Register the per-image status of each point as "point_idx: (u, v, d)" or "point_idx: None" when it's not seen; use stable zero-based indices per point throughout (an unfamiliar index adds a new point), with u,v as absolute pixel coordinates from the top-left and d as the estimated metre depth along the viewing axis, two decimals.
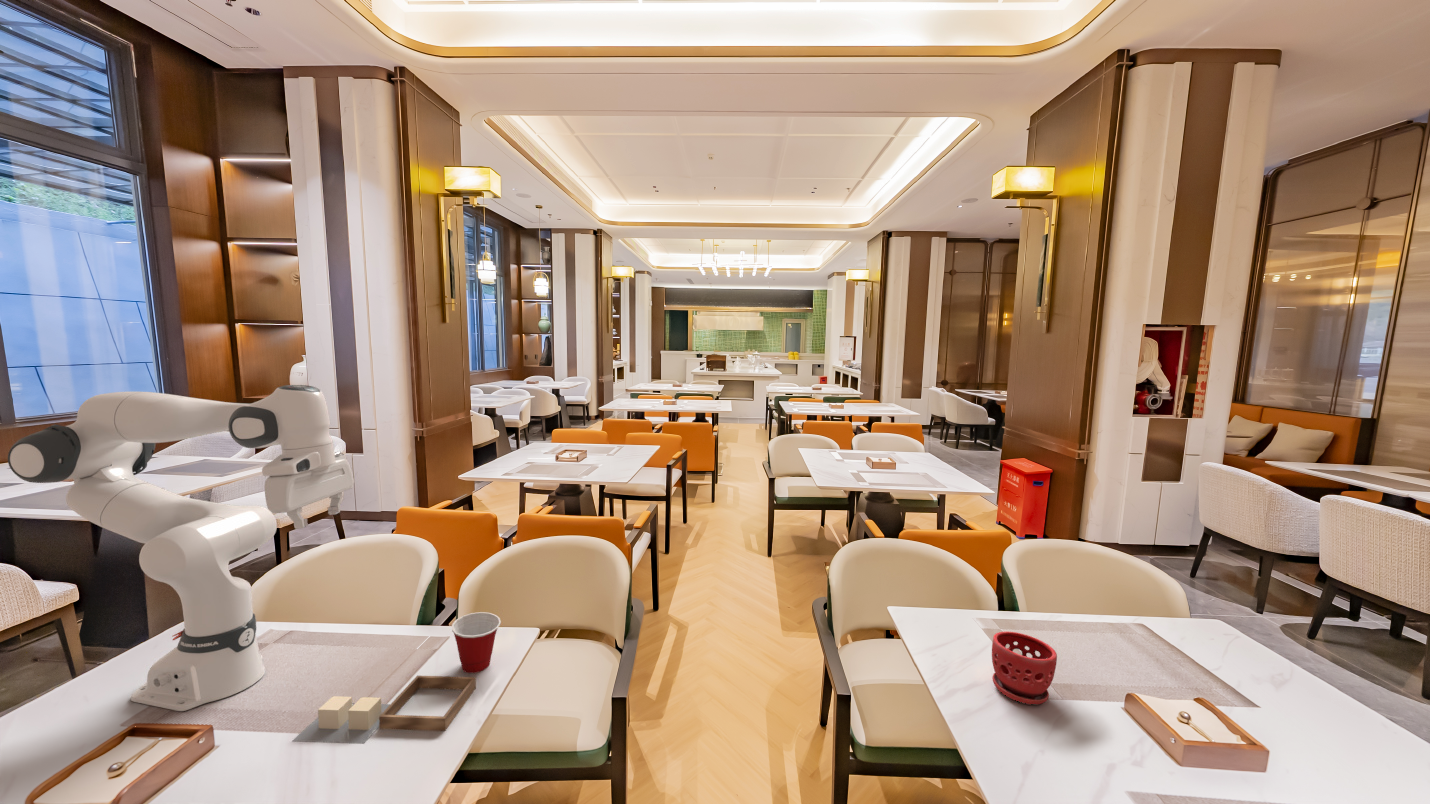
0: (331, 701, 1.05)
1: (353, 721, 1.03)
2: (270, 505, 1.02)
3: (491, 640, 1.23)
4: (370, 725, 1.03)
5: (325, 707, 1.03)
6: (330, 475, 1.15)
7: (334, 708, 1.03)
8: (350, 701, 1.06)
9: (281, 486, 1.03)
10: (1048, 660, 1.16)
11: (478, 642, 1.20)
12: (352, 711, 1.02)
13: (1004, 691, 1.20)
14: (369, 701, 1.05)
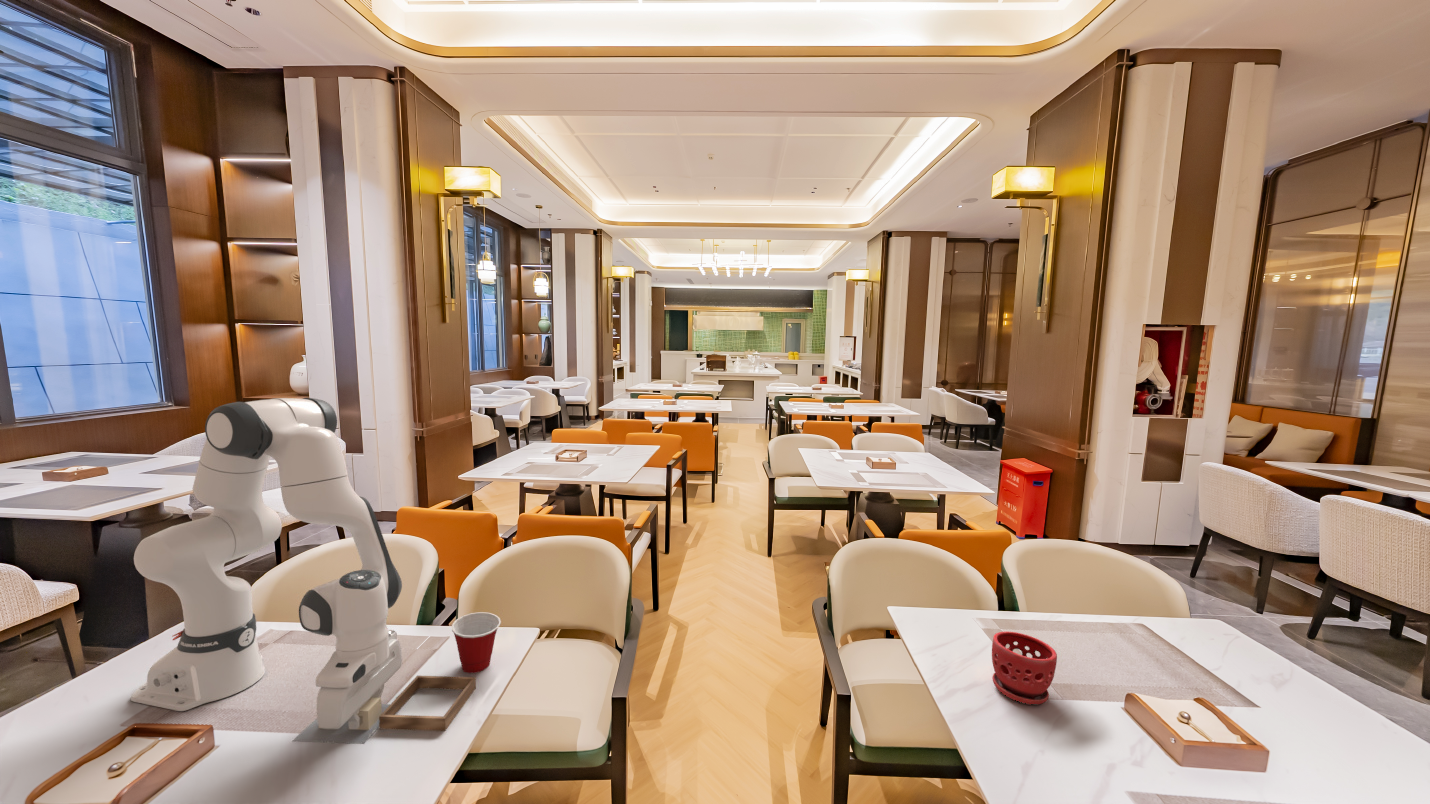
0: None
1: None
2: (321, 722, 0.94)
3: (491, 640, 1.23)
4: (370, 725, 1.03)
5: None
6: (381, 665, 1.07)
7: None
8: None
9: (335, 703, 0.94)
10: (1048, 660, 1.16)
11: (478, 642, 1.20)
12: None
13: (1004, 691, 1.20)
14: (369, 701, 1.05)
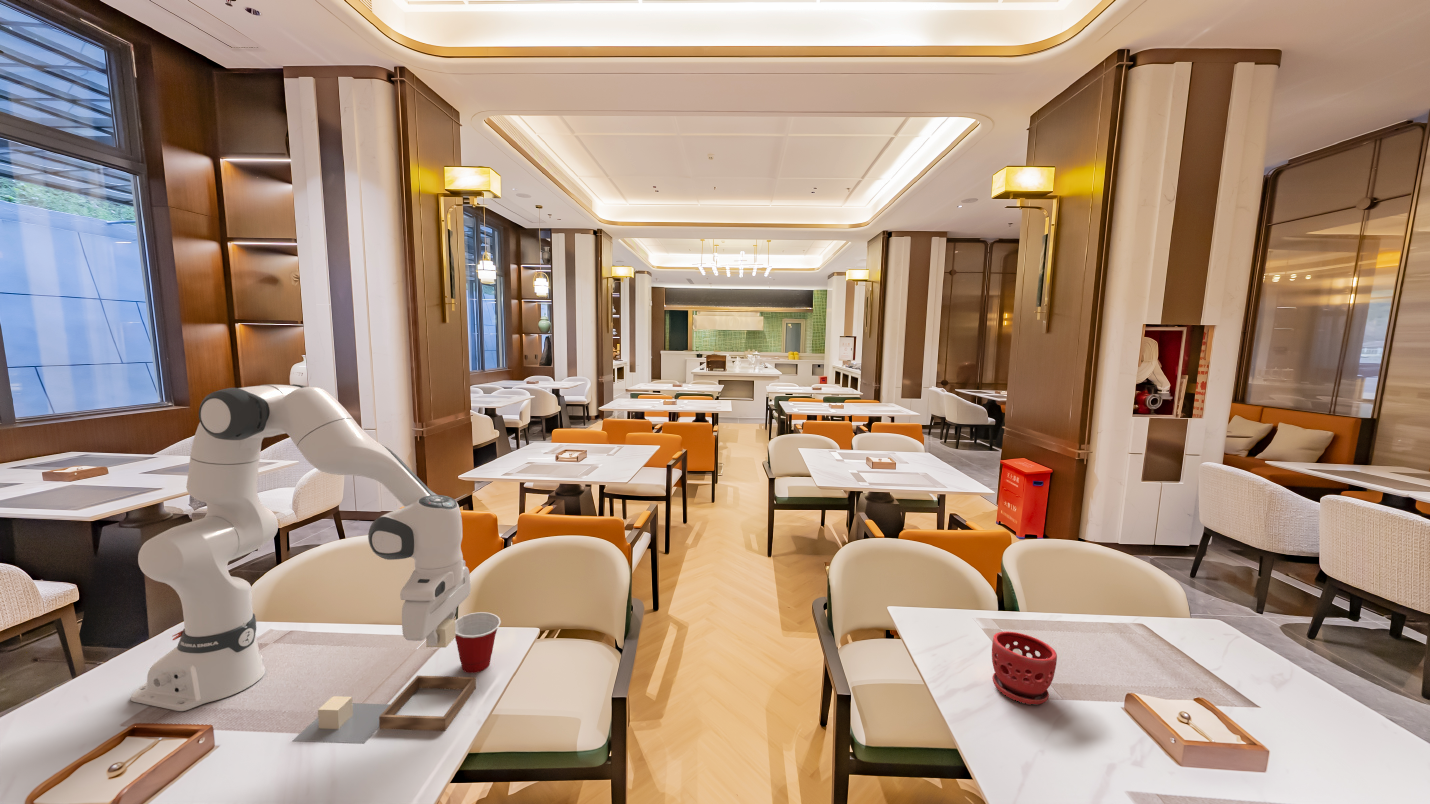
0: (331, 701, 1.05)
1: None
2: (406, 633, 0.98)
3: (491, 640, 1.23)
4: (447, 643, 1.07)
5: (325, 707, 1.03)
6: (454, 588, 1.10)
7: (334, 708, 1.03)
8: (350, 701, 1.06)
9: (420, 614, 0.98)
10: (1048, 660, 1.16)
11: (478, 642, 1.20)
12: None
13: (1004, 691, 1.20)
14: (444, 621, 1.09)
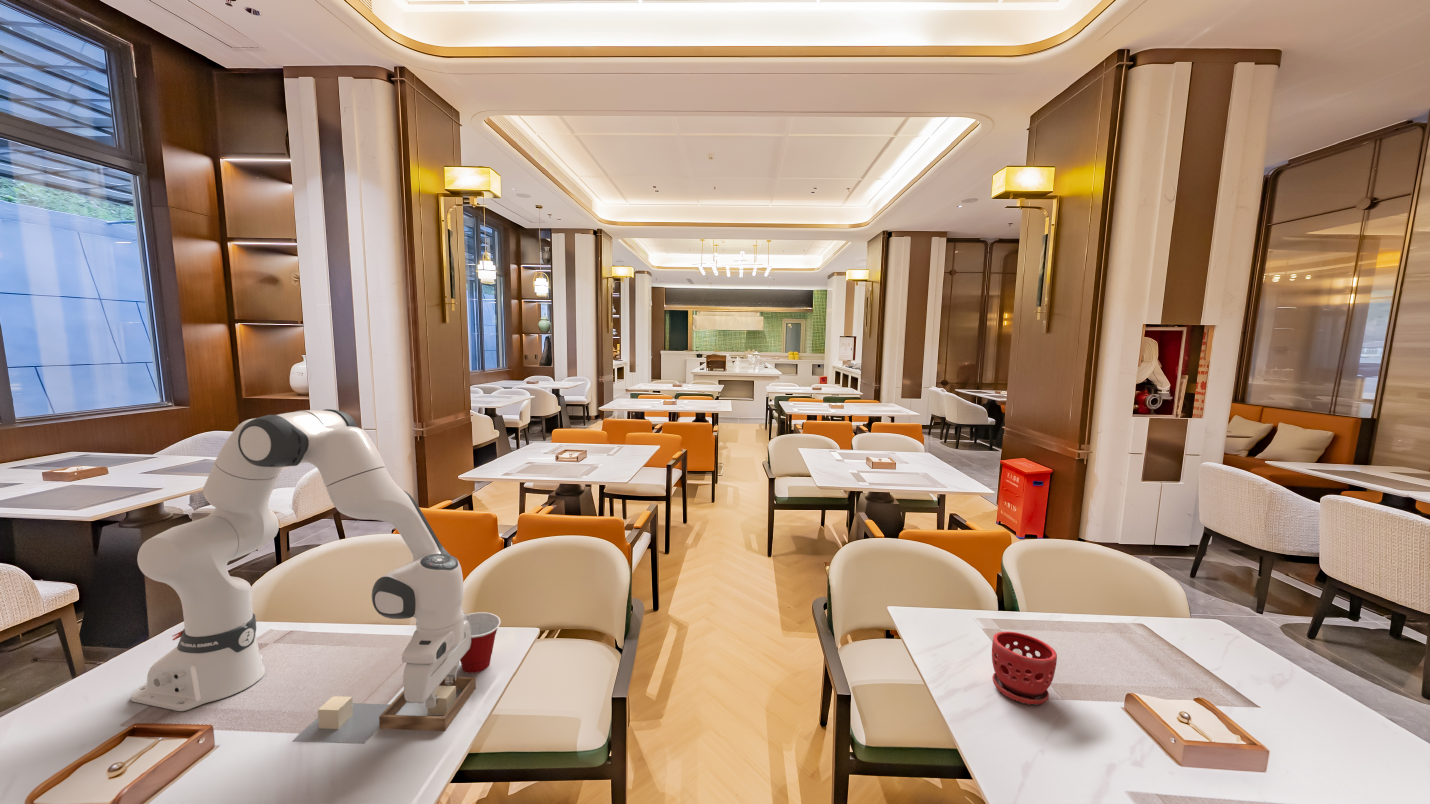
0: (331, 701, 1.05)
1: (431, 708, 1.08)
2: (408, 696, 0.99)
3: (491, 640, 1.23)
4: None
5: (325, 707, 1.03)
6: None
7: (334, 708, 1.03)
8: (350, 701, 1.06)
9: (421, 678, 0.99)
10: (1048, 660, 1.16)
11: (478, 642, 1.20)
12: None
13: (1004, 691, 1.20)
14: (445, 689, 1.10)
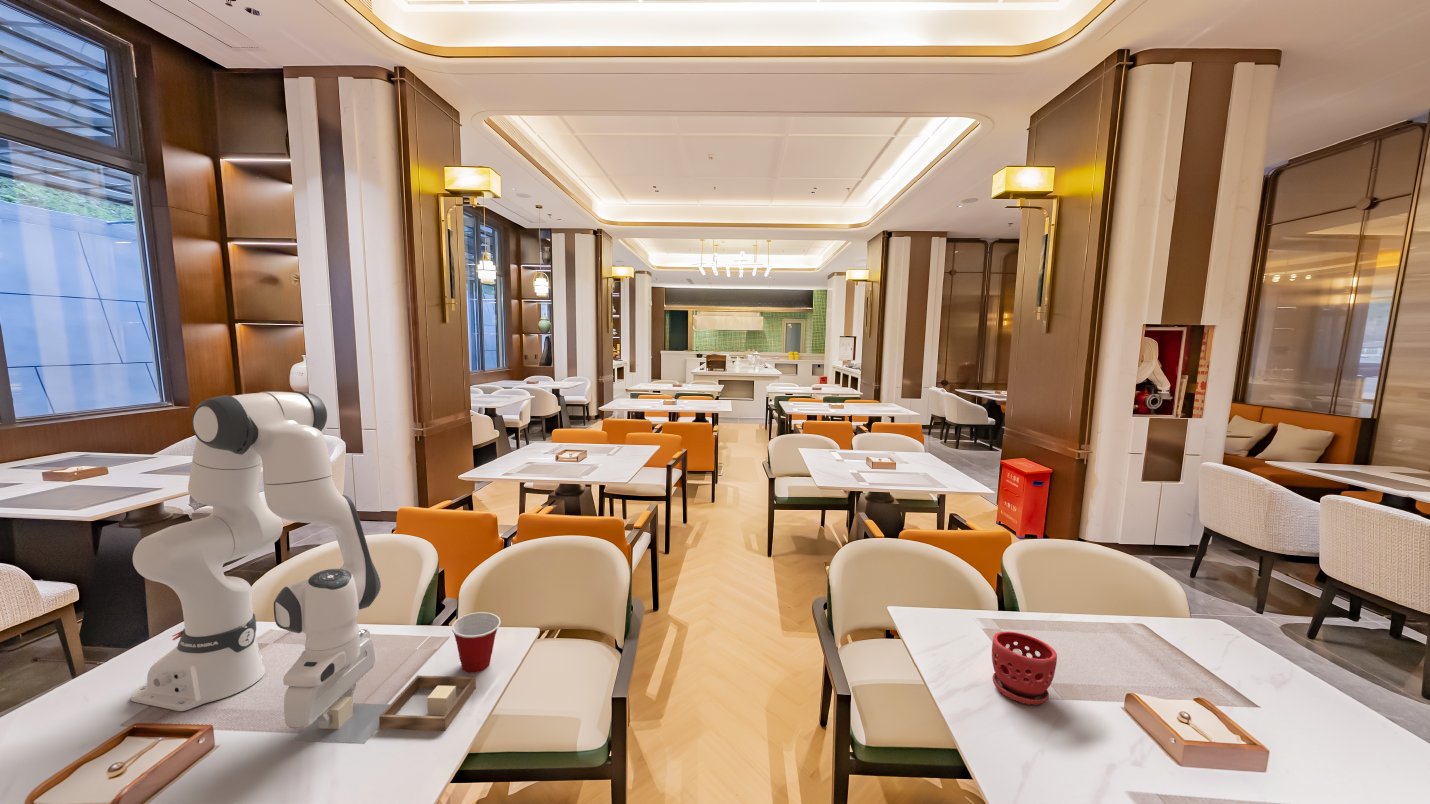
0: None
1: (431, 708, 1.08)
2: (288, 721, 0.94)
3: (491, 640, 1.23)
4: None
5: None
6: (352, 664, 1.07)
7: (334, 708, 1.03)
8: (350, 701, 1.06)
9: (303, 702, 0.94)
10: (1048, 660, 1.16)
11: (478, 642, 1.20)
12: (431, 698, 1.07)
13: (1004, 691, 1.20)
14: (445, 689, 1.10)
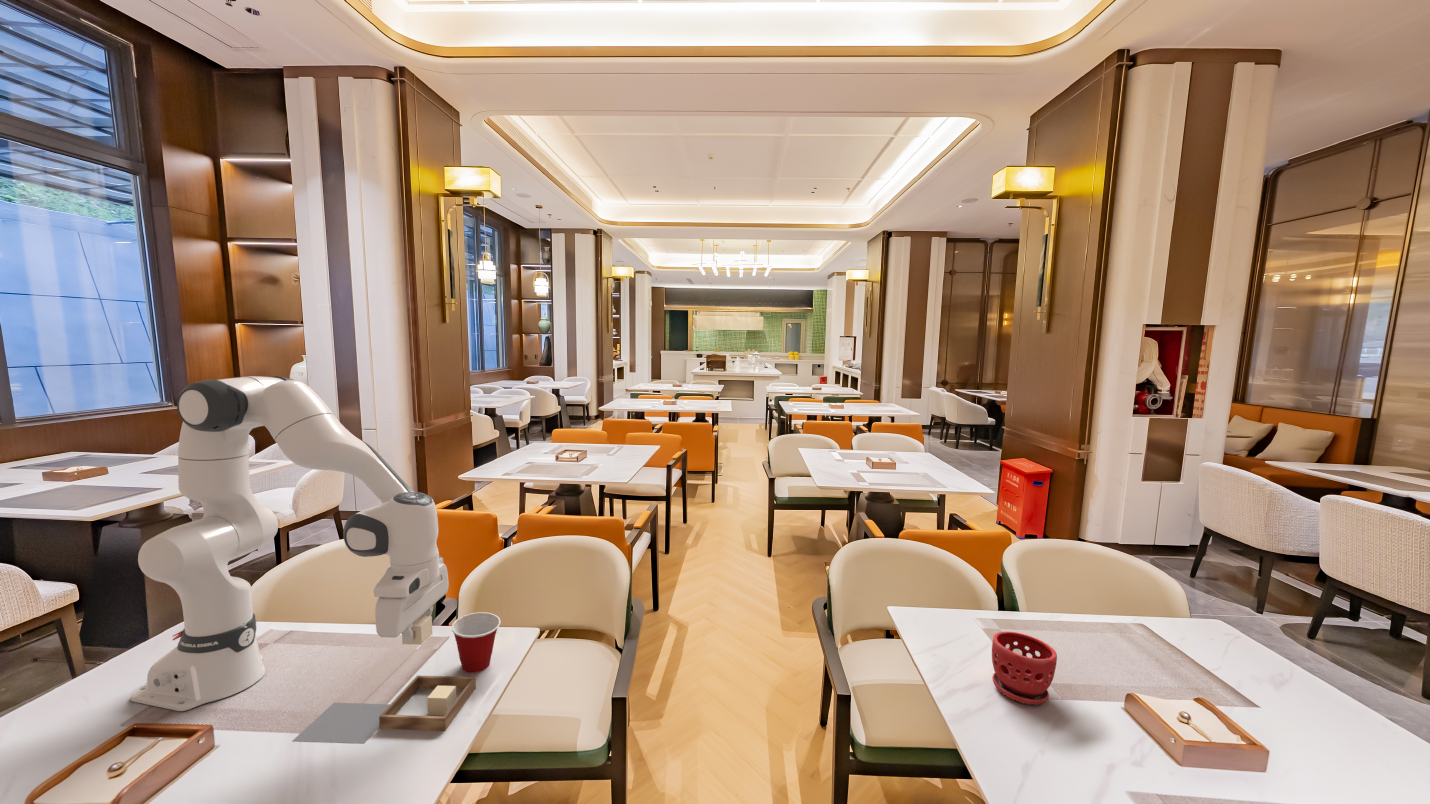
0: None
1: (431, 708, 1.08)
2: (380, 630, 0.97)
3: (491, 640, 1.23)
4: None
5: None
6: (431, 585, 1.10)
7: (417, 625, 1.06)
8: (430, 620, 1.09)
9: (393, 611, 0.98)
10: (1048, 660, 1.16)
11: (478, 642, 1.20)
12: (431, 698, 1.07)
13: (1004, 691, 1.20)
14: (445, 689, 1.10)
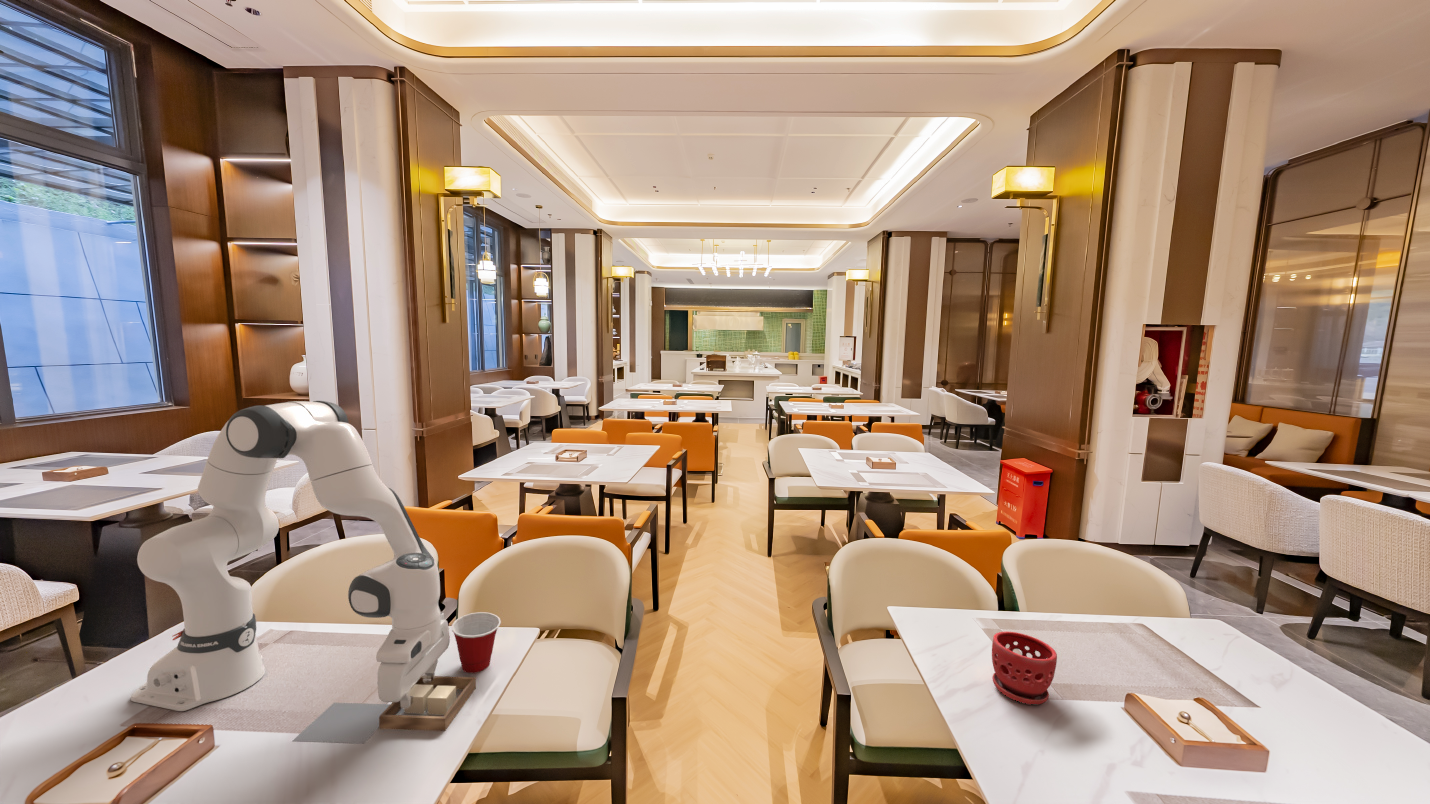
0: (414, 689, 1.10)
1: (431, 708, 1.08)
2: (382, 695, 0.99)
3: (491, 640, 1.23)
4: None
5: (410, 694, 1.08)
6: None
7: (419, 695, 1.08)
8: (431, 688, 1.11)
9: (395, 677, 0.99)
10: (1048, 660, 1.16)
11: (478, 642, 1.20)
12: (431, 698, 1.07)
13: (1004, 691, 1.20)
14: (445, 689, 1.10)
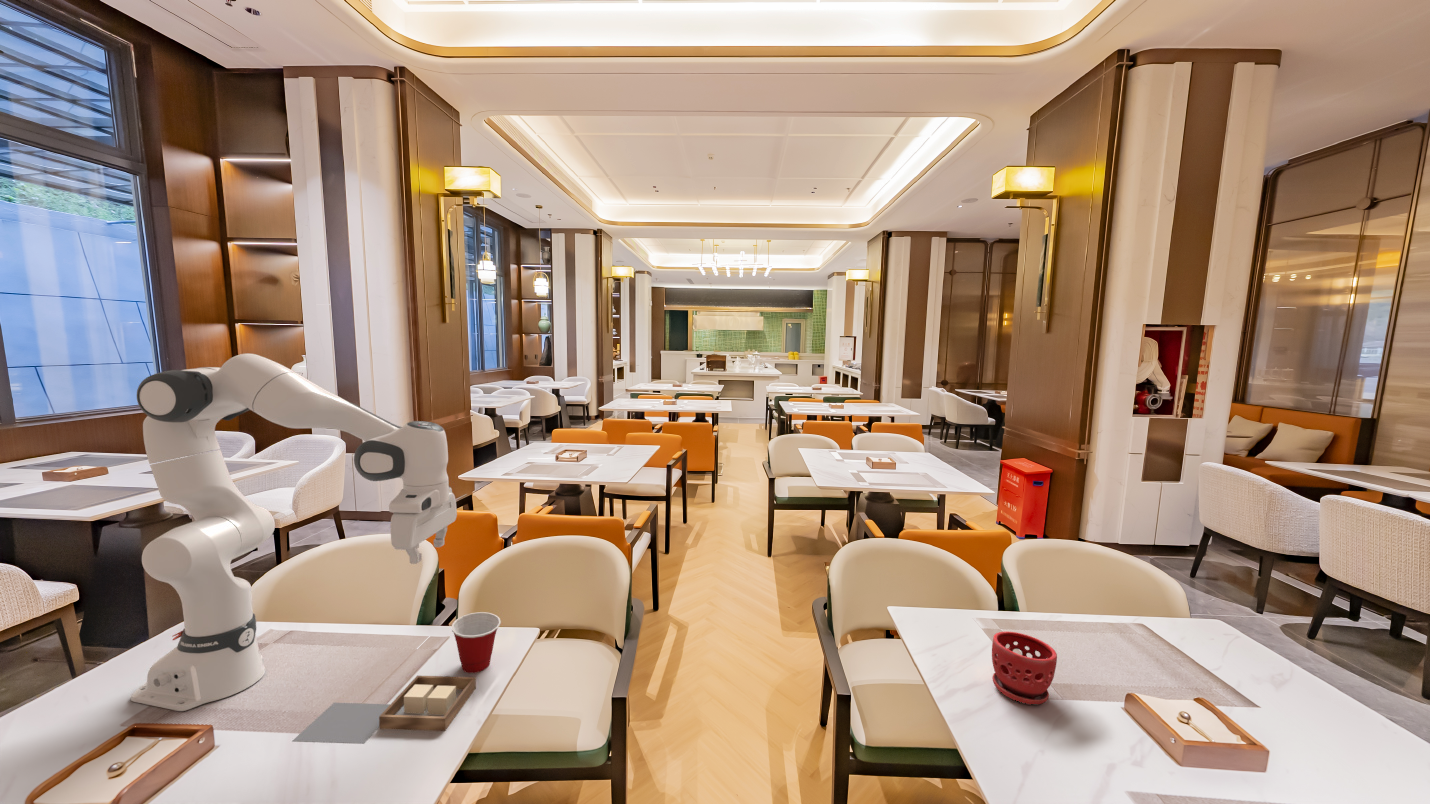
0: (414, 689, 1.10)
1: (431, 708, 1.08)
2: (395, 542, 1.05)
3: (491, 640, 1.23)
4: None
5: (410, 694, 1.08)
6: (441, 510, 1.18)
7: (419, 695, 1.08)
8: (431, 688, 1.11)
9: (407, 525, 1.05)
10: (1048, 660, 1.16)
11: (478, 642, 1.20)
12: (431, 698, 1.07)
13: (1004, 691, 1.20)
14: (445, 689, 1.10)
